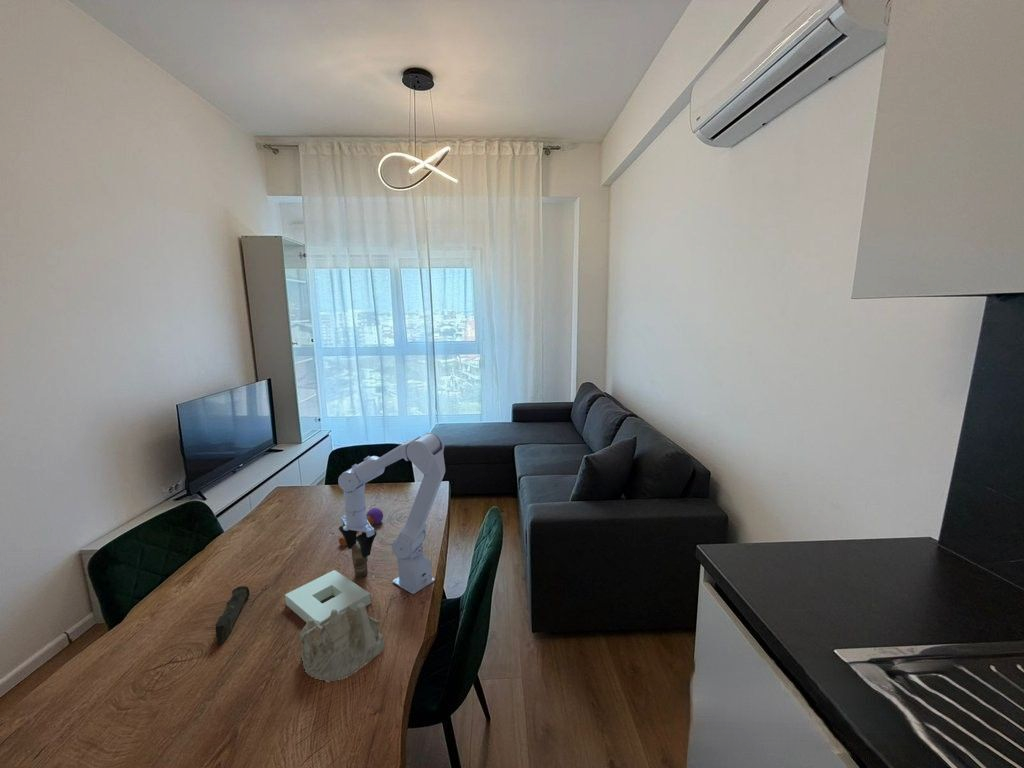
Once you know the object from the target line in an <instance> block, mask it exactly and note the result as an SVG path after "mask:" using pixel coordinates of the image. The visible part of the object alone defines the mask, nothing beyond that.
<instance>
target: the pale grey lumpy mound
mask: <svg viewBox="0 0 1024 768" xmlns="http://www.w3.org/2000/svg"><path fill="white" fill-rule="evenodd" d="M366 607H367V606H366ZM366 607H365V604H363V603H360V604H358V606H357V609H354V608H353V607H352V606H348V607H347V611H346V613H345V611H344V612H342V613H341V614H340V612H339V611H337V610H336V609H333V610H332V611H331V615H330V616H329V617H328V618H327V619H325V620H324V621H322V622H319V621H317V620H315V619H313V618H309V619H308V621H307V622H305V623H306V624H305V625H304V626H303V627H302V629H301V630H300V632H299V635H298V637H299V638H300V639H301V640H299V641H300V644H302V650H301V654H300V657H301V658H302V659H301V662H302V661H303V664H302V666H304V667H303V670H304V669H305V671H304V673H305V672H306V673H307V674H308V675H307V674H306V673H305V674H306V675H307V676H309V675H310V676H313V677H315V678H318V679H322V680H325V681H327V680H328V681H333V680H338V679H341V678H344V677H346V676H349V675H351V674H353V673H354V672H355V671H356V670H358V669H359V668H360V667H361V666H363V665H364V664H365V663H367V662H369V661H370V660H371V659H373V658H374V657H376V656H377V655H378V654H379V653H381V652H383V651H384V649H385V640H384V637H383V635H382V634H381V632H380V627H379V626H378V624H379V623H380V621H379V620H377V619H376V618H373V617H372V616H370V615H368V611H367V608H366ZM383 648H384V649H383ZM382 650H383V651H382ZM381 654H382V653H381ZM377 657H378V656H377ZM377 657H376V658H377ZM373 660H374V659H373ZM370 662H371V661H370ZM353 675H354V674H353ZM310 676H309V677H310ZM351 676H352V675H351ZM313 677H312V678H313ZM315 678H314V679H315Z"/></svg>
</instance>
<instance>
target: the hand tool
mask: <svg viewBox="0 0 1024 768" xmlns="http://www.w3.org/2000/svg"><path fill="white" fill-rule="evenodd" d="M231 594H232V596H230V599H229V600H228V601H227V602H226V607H225V609H224V611H223V613H222V615H221V616H219V617H218V619H217V621H216V623H215V637H216V642H217V646H218V647H220V646H221V645H223V643H225V641H226V640H227V638H228V637H229V636H230V634H231V632H232V631H233V626H234V624H235V622H236V619H237V617H238V616H239V615H240V612H241V609H242V607H243V606H244V603H245V600H246V599H248V598H249V596H250V595H251V594H250V588H249V587H248V586H245V585H244V586H237V587H236V588H234V589H233V590H232V591H231Z"/></svg>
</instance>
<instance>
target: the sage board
mask: <svg viewBox="0 0 1024 768" xmlns="http://www.w3.org/2000/svg"><path fill="white" fill-rule="evenodd" d="M284 596H285V597H284V598H285V605H286V606H287V607H288V608H289V609H290V610H292V611H293V613H295V614H296V615H297V616H298V617H299V618H300V619H302V620H303V621H304V622H305V623H306V622H307V621H308V619H309V618H313V619H315V620H317V621H319V622H322V621H324V620H325V619H327V618H328V617H329V616H330V615H331V611H332V610H333V609H336V610H337V611H339V612H340V614H341V613H342V612H344V611H345V613H346V611H347V607H348V606H352V607H353V608H354V609H357V606H358V604H360V603H363V604H365V607H367V606H369V605H370V604H372V603H371V594H370V592H369V591H367V590H365V589H364V587H361V586H360V585H358V584H357V583H355V582H354V581H352V580H351V579H349V578H347V576H345V575H343V574H341V573H340V572H339V571H337V570H335V569H334V570H332V571H329V572H328V573H326V574H324V575H321V576H320V577H316V578H315V579H313V580H311V581H309V582H307V583H305V584H303V585H301V586H299V587H297V588H295V589H293V590H291V591H289V592H287V593H286V594H284ZM331 596H334V597H332V598H330V599H329V600H327V601H325V602H323V601H324V600H325V599H328V598H329V597H331ZM322 602H323V603H322Z"/></svg>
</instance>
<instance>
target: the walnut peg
mask: <svg viewBox="0 0 1024 768" xmlns="http://www.w3.org/2000/svg"><path fill="white" fill-rule="evenodd" d="M350 550H351V557H352V558H351V559H352V565H353V568H354V571H353V572H354V578H357V579H362V578H364V577H367V575H368V573H369V572H368V571H369V570H368V561H369V560H368V556H367V557H365V558H364V557H363V556H362V553H361V548H360V545H359V542H356V544H354V545H353V546H352V547H351V549H350Z"/></svg>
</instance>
